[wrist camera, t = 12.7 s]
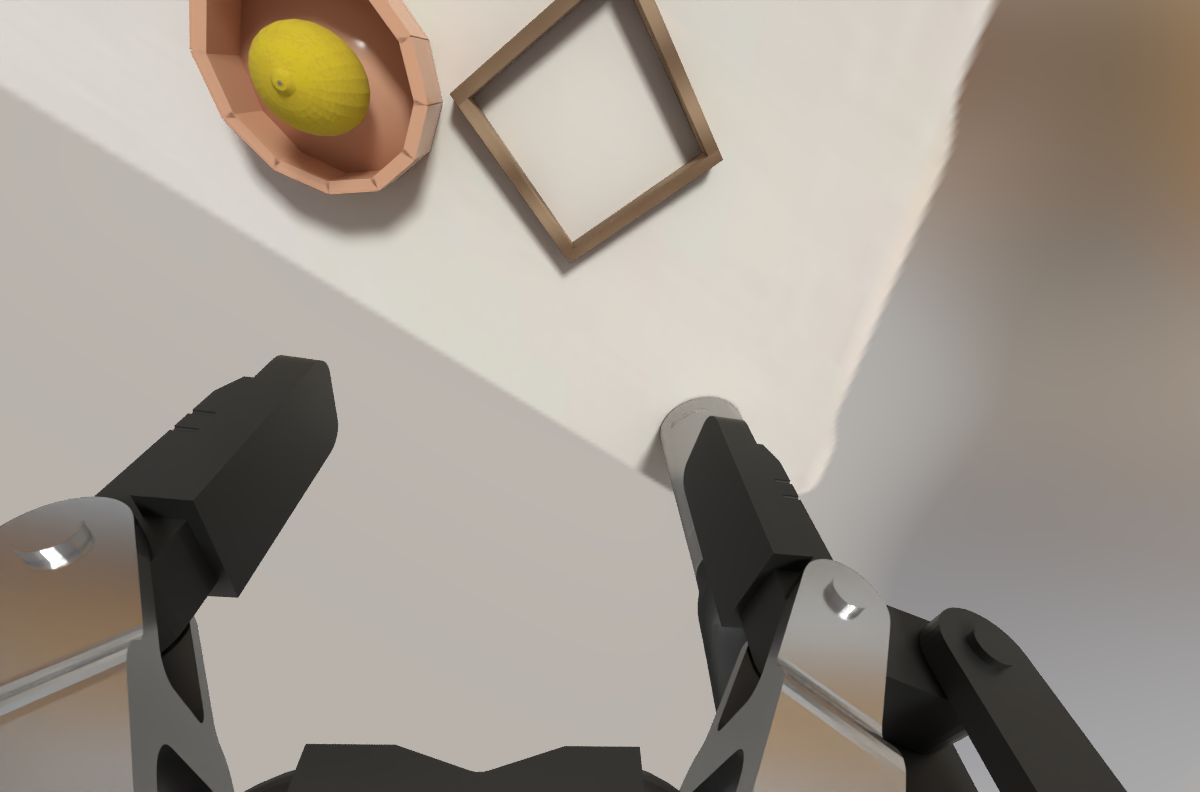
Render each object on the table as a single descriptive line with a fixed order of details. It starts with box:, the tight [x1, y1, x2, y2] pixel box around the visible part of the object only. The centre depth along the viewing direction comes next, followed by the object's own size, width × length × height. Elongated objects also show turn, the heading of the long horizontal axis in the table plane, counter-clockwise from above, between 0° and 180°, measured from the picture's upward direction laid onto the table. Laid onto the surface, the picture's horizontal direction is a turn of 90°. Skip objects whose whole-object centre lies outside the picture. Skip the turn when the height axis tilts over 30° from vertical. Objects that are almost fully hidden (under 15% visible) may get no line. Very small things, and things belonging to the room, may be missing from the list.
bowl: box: [189, 0, 442, 194], centre depth 28 cm, size 13×13×4 cm
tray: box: [450, 0, 723, 263], centre depth 31 cm, size 14×14×2 cm
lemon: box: [248, 19, 370, 136], centre depth 26 cm, size 6×6×8 cm
